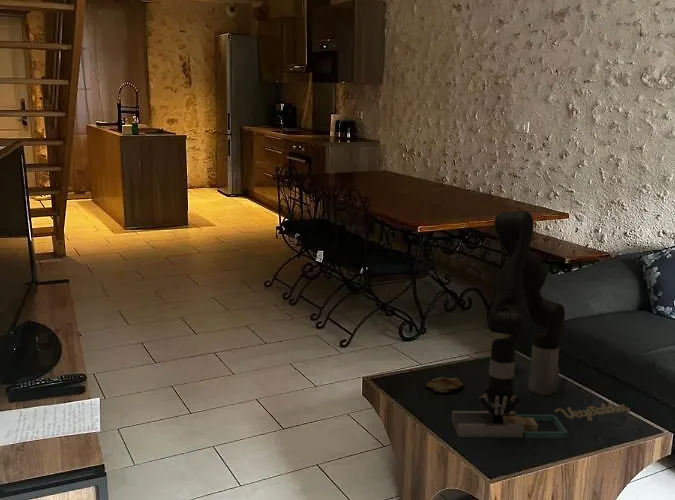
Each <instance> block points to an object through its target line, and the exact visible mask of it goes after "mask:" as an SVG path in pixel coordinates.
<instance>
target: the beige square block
mask: <svg viewBox="0 0 675 500" xmlns="http://www.w3.org/2000/svg"><path fill="white" fill-rule="evenodd" d="M502 424H521V422H520V421H519V419H518V418H517V416H503V423H502Z"/></svg>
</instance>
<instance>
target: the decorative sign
mask: <svg viewBox="0 0 675 500" xmlns="http://www.w3.org/2000/svg"><path fill="white" fill-rule="evenodd" d="M607 404H608V405H607V406H606V404H605V403H601V406H600V407H597V406H593V405H590V406H589V407H587V406H586V407H585V409H583V410H581V409H579V410H578V411H577V410H573V411H572V409H571V407H570V406H568V407H567V408H566V411H565V410H564V409H563V408H556V409H554V414H557V413H559V412H561V413H562V416H564V417H565V418H566V419H567V420H575V418H576V419H579V420H581V419H582V418H584V419H586V421H587V422H590V423H592V422H593V418H594V417H601V416H605V415H606V416H607V415H614V414H615V413H616V414H621V413H622V414H624V413H630V411H631V408H629V407H626V405H625V404H620V405H614V404H613V403H612V402H608V403H607ZM567 412H568V413H567Z"/></svg>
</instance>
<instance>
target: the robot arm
mask: <svg viewBox="0 0 675 500" xmlns="http://www.w3.org/2000/svg"><path fill="white" fill-rule="evenodd" d="M494 228H495V233H496V235H497V238H498V240H499V242H500V244H501V246H502V247H503V249H504V251H505V252H506V255H507V256H508V261H506V263H505V264H504V266H503V267H502V269H501V271H500V274H499V276H498V279H497V290H496V296H495V300H494V303H493V306H492V308H491V310H490V311H489V312H490V313H489V314H488V317H487V320H486V321H487V323H486V324H487V327H488V330H489V331H490V332H492V333H495V334H505V335H509V336H508V337H505V338H504V337H503V338H497V339H494V340H493V341H492V343H491V349H490V350H491V353H490V361H489V367H488V377H487V378H488V379H487V388H486V390H485V393H484V394H480V395H479V396H478V399H479V400H480V403H481V404H482V405H483V406H484V407H485V409H486V411H489V413H493V419H492V421H493V423H494V424H502V423H503V415H504V414H505V413H509V412H510V411H513V409H514V408H515V407H516V406H517V405H518V404H519V403H520V402H521V400H520V398H519V396H518V395H516V394H515V393H514V390H513V388H514V379H515V378H514V377H515V357H516V350H515V348H516V349H517V343H518V340H519V338H520V335H521V332H522V330H523V327H524V324H525V318H524V316H523V314H522V313H520V312H519V311H512V310H503V308H504V307H506V306H513V305H517V304H519V303H520V300H521V291H522V294H523V297H524V299H525V304H526V308H527V311H528V315H529V317H530V318H529V319H530V320H531V322H532V323H534V324H535V325H538V326H541V327H544V328H546V332H544V333H537V334H534V335H533V337H532V342H531V343H532V345H531V353H530V354H531V356H530V365H529V367H530V368H529V377H528V391H530V392H532V393H534V394H537V395H540V396H551V395H553V394H558V387H559V386H558V384H559V376H560V367H559V366H558V364H559V353H560V343H561V340H562V337H563V330H564V324H565V317H566V310H565V307H564V305H562V304H560V303H559V302H554V301H550V300H547V299H544V297H543V295H542V294H541V293H542V292H541V290H542V289H543V287H544V286H545V283H546V271H545V269H544V267H543V264H542V261H541V259H540V258H539V256H537V255H536V254H535V253H533V252H532V251H531V250H530V245H531V243H532V238H533V233H534V220H533V216H532V214H531V212H529V211H526V210H522V211H521V210H520V211H519V210H518V211H506V212H501V213H498V214H497V215H496V216H495V219H494ZM488 399H489V401H490V402H491V403H492V404H491V405H490V404H489V403H488ZM491 406H492V407H491Z"/></svg>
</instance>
